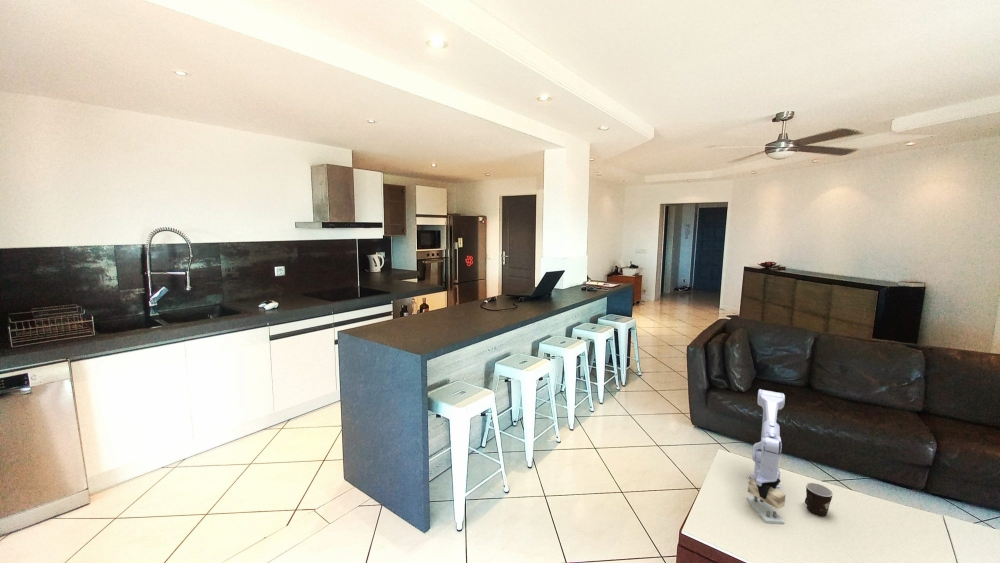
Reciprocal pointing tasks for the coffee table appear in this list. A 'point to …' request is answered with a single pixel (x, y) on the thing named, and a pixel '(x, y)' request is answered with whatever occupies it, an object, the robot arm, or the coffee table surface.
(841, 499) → the coffee table surface
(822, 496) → the coffee mug
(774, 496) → the wooden block
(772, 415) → the robot arm
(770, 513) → the peg plate
